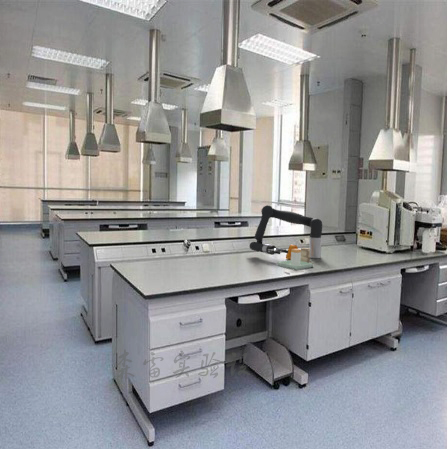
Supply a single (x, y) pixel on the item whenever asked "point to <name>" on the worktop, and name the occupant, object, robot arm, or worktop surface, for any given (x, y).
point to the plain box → (305, 255)
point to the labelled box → (295, 257)
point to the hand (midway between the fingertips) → (284, 252)
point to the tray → (302, 266)
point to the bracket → (288, 255)
